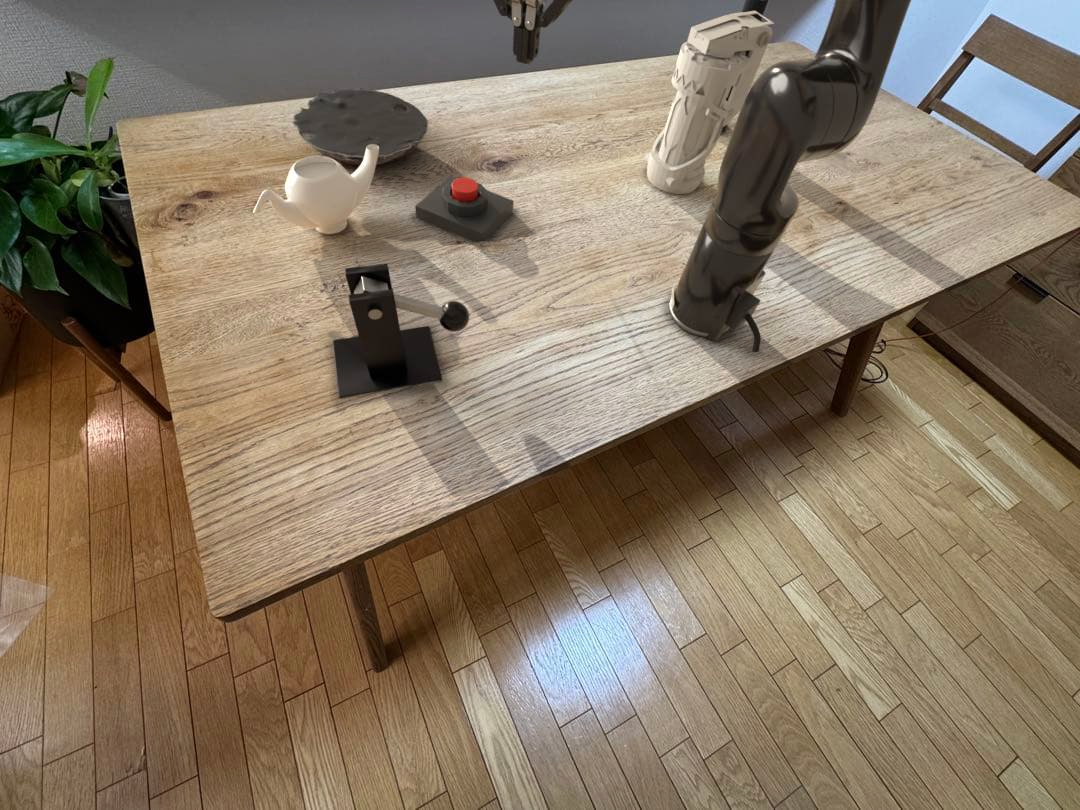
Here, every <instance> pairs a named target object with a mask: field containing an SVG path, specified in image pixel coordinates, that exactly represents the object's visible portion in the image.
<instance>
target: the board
mask: <svg viewBox="0 0 1080 810" xmlns="http://www.w3.org/2000/svg"><path fill="white" fill-rule="evenodd" d="M307 107H308V108H304V107H300V112H298V113H296V114H294V115H293V121H292V125H293V126H294V127H295V128H296V130H297V131H298V133H299V136H300V137H301V138H302V140H304V141H305V142H306V143H307V144H309V146H311V147H312V148H314V150H316V151H318V152H319V153H320V154H322V155H323V156H325V157H329V158H331V159H334V160H335V161H337V162H338V163H340V164H349V165H353V166H360V165H361V163H362V161H363V159H364V155H365V151H366V147H367V146H368V145H370V144H375V145H377V146H378V147H379V154H378V158H377V162H376V165H383V164H385V163H387V162H393V161H400V160H402V159H403V158H404V156H405V155H409V154H411V153H412V152H413V151H414V150H415V149H417V147H418V146H419V145H420V143H421V142H423V140H424V138H425V136H427V133H428V130H429V123H428V118H426V115H424V114H423V113H422V111H421V110H420V109H419V108H418V107H416V106H415V105H414V104H412V103H410V102H408V101H405V100H404V99H402V98H401V97H398V96H395V95H393V94H391V93H388V92H382V91H378V90H376V89H368V88H367V89H366V88H361V87H360V88H351V89H350V88H349V89H346V88H337V89H335V90H334V91H332V92H331V91H330V92H328V91H325V92H320V93H318V94H317V95H315V96H314V97H313V98H311V99H309V101H308V102H307Z"/></svg>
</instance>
